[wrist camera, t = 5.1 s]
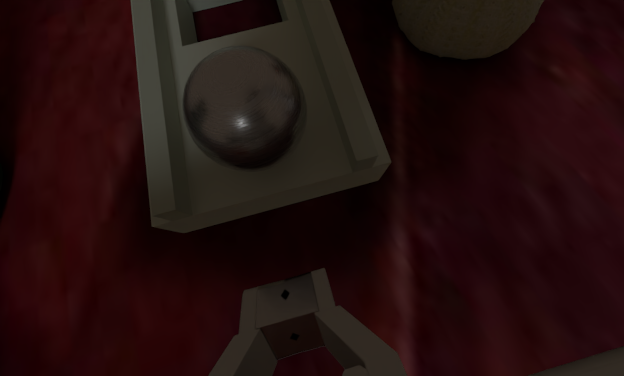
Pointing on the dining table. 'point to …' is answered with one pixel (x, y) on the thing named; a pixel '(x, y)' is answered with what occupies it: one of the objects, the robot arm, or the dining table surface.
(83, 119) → the dining table surface
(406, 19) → the sea urchin shell
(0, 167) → the coffee jar
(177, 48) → the tray
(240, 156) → the ball
